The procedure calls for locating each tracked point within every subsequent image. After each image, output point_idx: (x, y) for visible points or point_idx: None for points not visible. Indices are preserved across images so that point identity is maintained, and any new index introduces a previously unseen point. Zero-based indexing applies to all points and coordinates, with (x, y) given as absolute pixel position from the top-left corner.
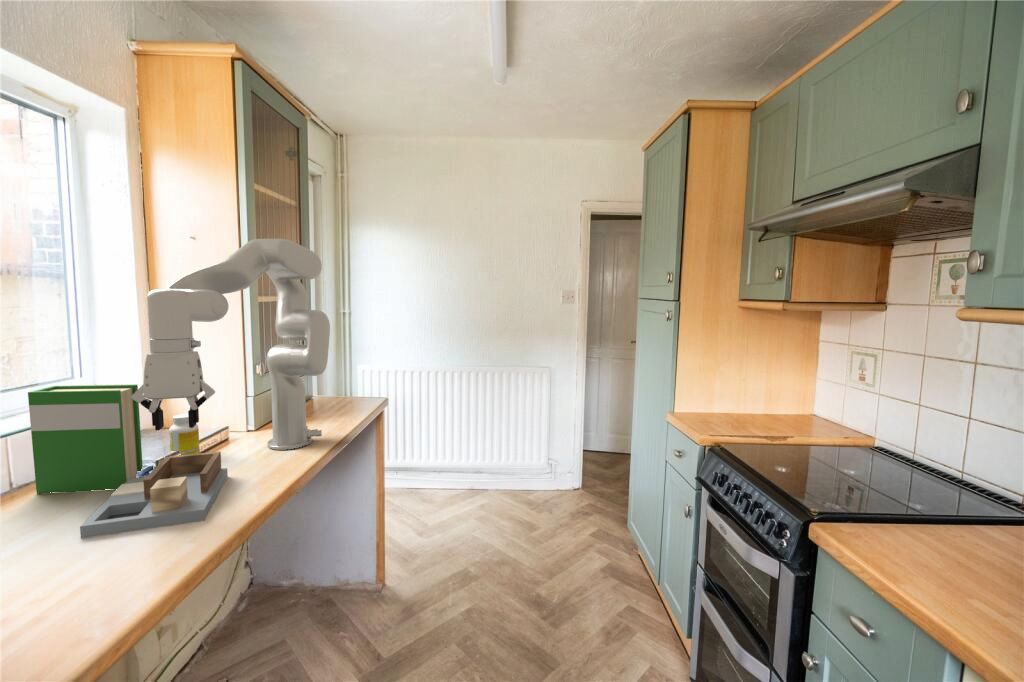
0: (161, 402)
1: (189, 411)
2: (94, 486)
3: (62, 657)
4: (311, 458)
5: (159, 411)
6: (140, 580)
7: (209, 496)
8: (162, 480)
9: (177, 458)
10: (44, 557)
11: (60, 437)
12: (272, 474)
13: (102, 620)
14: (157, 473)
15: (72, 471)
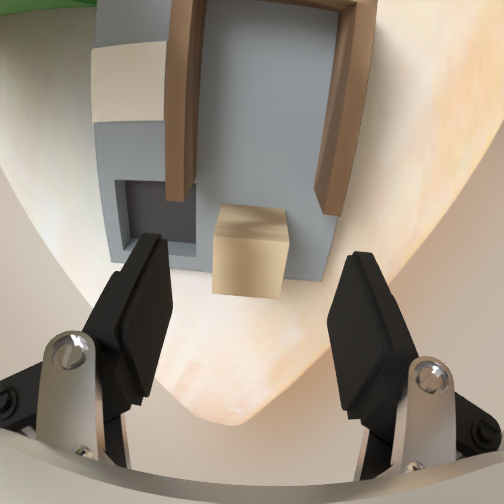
0: (97, 407)
1: (349, 413)
2: (38, 8)
3: (223, 418)
4: None
5: (129, 370)
6: (250, 373)
7: (333, 218)
8: (226, 247)
9: None
10: None
11: None
12: (466, 69)
13: (235, 403)
14: (185, 132)
15: None
